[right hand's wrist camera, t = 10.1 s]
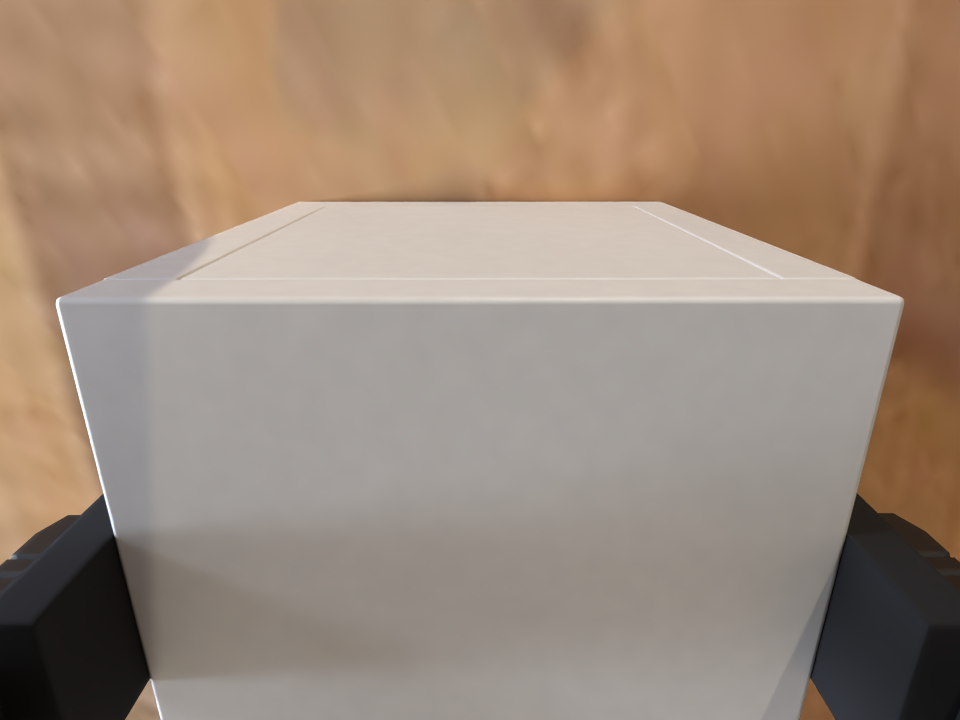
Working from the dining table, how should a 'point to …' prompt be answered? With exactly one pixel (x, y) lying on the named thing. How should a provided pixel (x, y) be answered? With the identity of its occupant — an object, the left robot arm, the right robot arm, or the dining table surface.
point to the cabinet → (480, 461)
